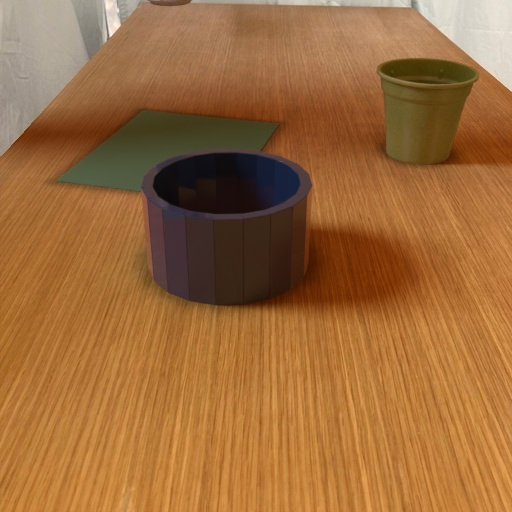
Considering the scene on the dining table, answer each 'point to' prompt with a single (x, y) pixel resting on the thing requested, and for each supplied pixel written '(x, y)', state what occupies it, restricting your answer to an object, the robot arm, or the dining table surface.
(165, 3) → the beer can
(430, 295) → the dining table surface
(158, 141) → the mat
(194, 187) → the pot
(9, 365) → the dining table surface
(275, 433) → the dining table surface
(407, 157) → the plant pot
